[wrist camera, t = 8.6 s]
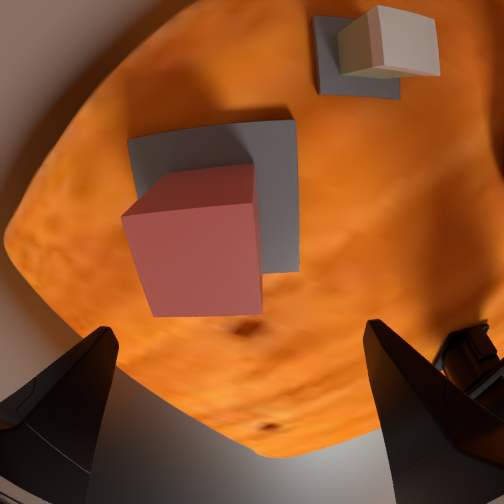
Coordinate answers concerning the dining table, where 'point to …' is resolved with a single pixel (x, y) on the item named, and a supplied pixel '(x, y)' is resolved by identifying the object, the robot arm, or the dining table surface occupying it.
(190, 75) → the dining table surface
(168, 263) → the red rectangular block
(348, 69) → the grey base with block
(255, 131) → the grey plate with post
